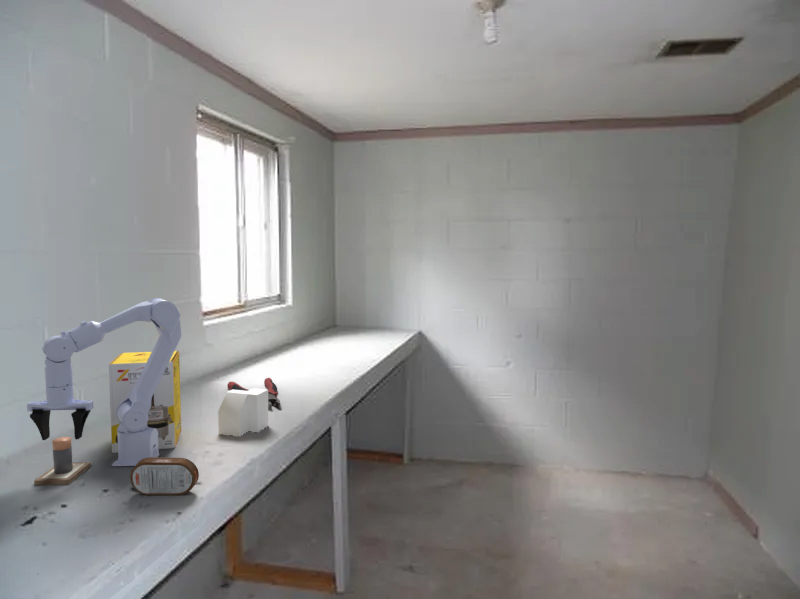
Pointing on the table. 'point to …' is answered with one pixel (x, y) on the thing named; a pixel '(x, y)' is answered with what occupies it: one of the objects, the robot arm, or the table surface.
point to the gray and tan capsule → (62, 455)
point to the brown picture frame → (62, 475)
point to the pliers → (271, 392)
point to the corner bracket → (243, 412)
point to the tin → (164, 476)
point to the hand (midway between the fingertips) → (62, 438)
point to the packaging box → (163, 400)
